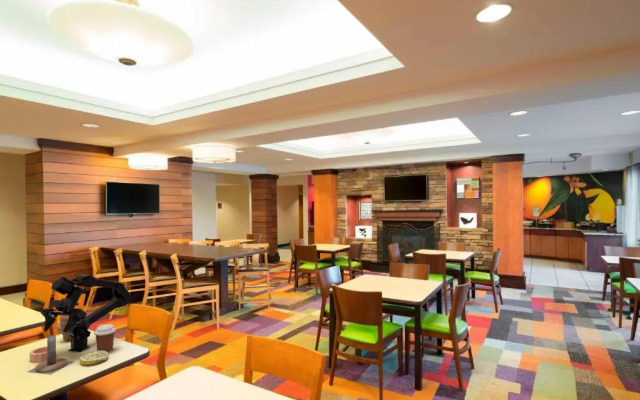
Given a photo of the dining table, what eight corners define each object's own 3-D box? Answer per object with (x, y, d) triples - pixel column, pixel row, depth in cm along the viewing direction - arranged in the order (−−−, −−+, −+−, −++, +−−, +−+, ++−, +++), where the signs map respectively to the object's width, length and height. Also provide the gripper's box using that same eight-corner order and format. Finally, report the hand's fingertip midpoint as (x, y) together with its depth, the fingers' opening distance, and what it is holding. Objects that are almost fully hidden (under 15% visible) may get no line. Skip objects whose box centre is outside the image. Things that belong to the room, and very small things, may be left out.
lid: (73, 361, 159) (73, 332, 159) (51, 373, 148) (51, 342, 148) (51, 359, 161) (52, 330, 161) (28, 371, 150) (28, 340, 150)
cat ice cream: (81, 339, 185) (82, 304, 185) (66, 344, 178) (66, 309, 178) (70, 336, 188) (70, 302, 188) (54, 342, 181) (55, 307, 181)
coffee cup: (109, 355, 166) (110, 330, 166) (89, 356, 166) (89, 330, 166) (119, 347, 176) (119, 323, 175) (100, 347, 175) (100, 323, 175)
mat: (75, 362, 160) (75, 361, 160) (50, 375, 148) (50, 374, 148) (51, 359, 161) (51, 359, 161) (26, 372, 150) (26, 372, 150)
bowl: (59, 355, 166) (59, 347, 166) (41, 364, 157) (41, 355, 157) (43, 353, 167) (43, 345, 167) (24, 362, 158) (24, 353, 158)
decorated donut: (111, 361, 161) (111, 353, 161) (83, 370, 153) (83, 361, 153) (103, 354, 168) (103, 346, 168) (77, 362, 160) (77, 353, 160)
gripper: (42, 291, 163) (22, 324, 153) (80, 291, 162) (62, 325, 152) (57, 301, 172) (39, 333, 162) (93, 302, 170) (77, 334, 160)
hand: (54, 331), depth 159 cm, fingers open, 9 cm apart
